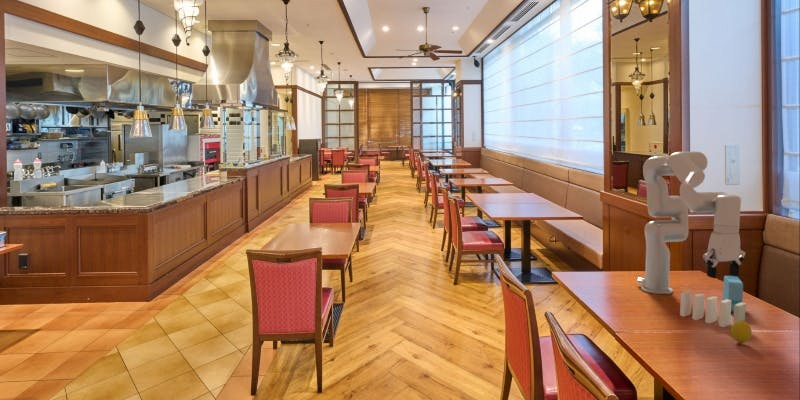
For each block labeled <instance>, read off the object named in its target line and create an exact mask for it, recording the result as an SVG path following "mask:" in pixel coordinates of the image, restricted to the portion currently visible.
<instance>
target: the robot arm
mask: <svg viewBox="0 0 800 400" xmlns="http://www.w3.org/2000/svg"><path fill="white" fill-rule="evenodd" d="M707 166H708V158H707V156H706V155H705V154H704V153H703V152H700V151H677V152H673V153H671V154H670V155H663V156H661V155H659V156H651V157H649V158H647V159H646V160H645V162H644V163H643V167H642V175H643V179H644V181H645V186H646V202H647V203H646V206H647V212H648V215H649V216H651V218H671V219H670V220H666V219H664V220H660V219H659V220H651V221H649V222H647V223H646V224H645V225H644V230H643V231H644V236H645V271H644V273H645V275H644V278H643V277H639V276H638V277H637V279H636V283H640V284H641V286H640V289H641V291H643V292H646V293H649V294H655V295H669V294H672V293H673V292H674V291H673V290H674V289H673V288H672V287H670V269H671V266H670V265H671V251H670V248H669V247H668V246H667V244H666V243H674V242H685V240H686V239H687V238H688V236H689V231H690V230H689V211H691V212H693V213H695V214H696V213H699V214H700V213H714V214H713V215H714V217H713V231H712V232H711V233H710V236H709V241H708V246H707V252H705V253H703V254H702V258H703V260H704V263H705V265H706V266H707V273H706V274H707V277H708V278H711V279H716V278H717V270H718V268H717V265H718V263H722V262H723V263H726V262H730V265H729V275H730V276H735V277H739V274H740V266H741V265H742V262H743V261H744V258H745V255H746V253H747V252H745V251H744V250H742V249H741V238H740V237H741V236H740V221H741V220H740V219H741V207H742V206H741V204H742V198H741V197H740V196H739V195H736V194H735V195H734V194H729V193H727V192H722V191H714V192H713V191H702V192H700V191H699V192H697V191H696V190H695V188H697V187H699V186H701V184H702V183H703V182H704V181H705V177H706V174H705V172H704V171H705V170H706V169H707V168H708V167H707ZM663 176H664V177H665V176H668V177H669V176H673V177H676V178H677V180H678V181H679V182H680V186H679V195H669V185H668V183H667V181H666V180H665V179H664V177H663Z"/></svg>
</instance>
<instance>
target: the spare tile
mask: <svg viewBox="0 0 800 400" xmlns="http://www.w3.org/2000/svg"><path fill="white" fill-rule="evenodd" d="M746 306H747V303H746V302H743V301H742V302H740V303H738V304H736V305H734V312H733V320H732V321H733V324H734V323H735V322H737V321H740V320H743V321H744V322H746V321H745V320H746V309H747V308H746ZM733 324H732V325H733Z"/></svg>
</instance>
